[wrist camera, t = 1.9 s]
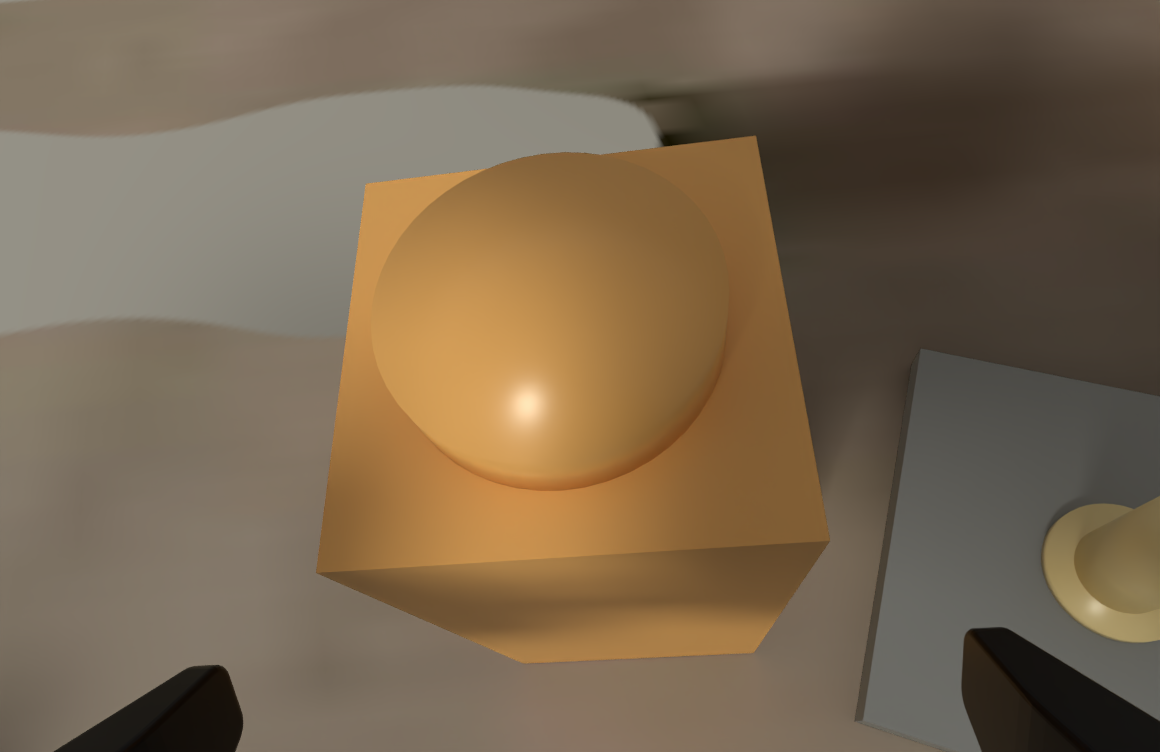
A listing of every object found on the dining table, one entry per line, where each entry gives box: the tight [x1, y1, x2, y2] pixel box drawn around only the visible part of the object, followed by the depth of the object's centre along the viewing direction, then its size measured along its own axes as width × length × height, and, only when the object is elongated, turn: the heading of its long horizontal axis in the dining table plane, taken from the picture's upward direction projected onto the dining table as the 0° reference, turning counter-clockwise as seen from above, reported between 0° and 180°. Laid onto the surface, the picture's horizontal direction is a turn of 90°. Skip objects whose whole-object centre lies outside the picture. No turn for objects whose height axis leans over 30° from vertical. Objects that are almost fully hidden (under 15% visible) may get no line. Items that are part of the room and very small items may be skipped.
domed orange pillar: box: [316, 136, 830, 663], centre depth 15 cm, size 6×6×13 cm
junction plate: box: [855, 349, 1160, 752], centre depth 16 cm, size 10×10×4 cm
